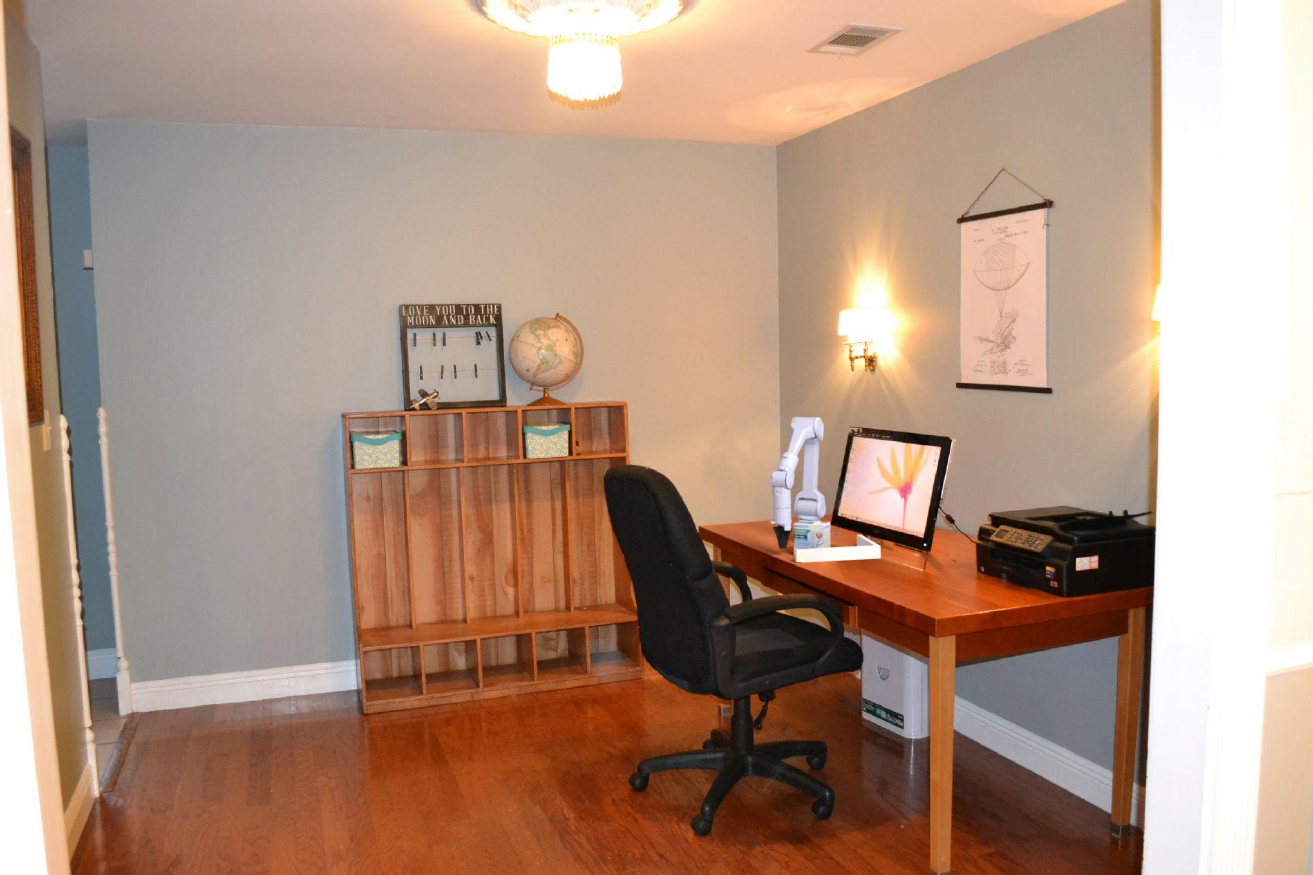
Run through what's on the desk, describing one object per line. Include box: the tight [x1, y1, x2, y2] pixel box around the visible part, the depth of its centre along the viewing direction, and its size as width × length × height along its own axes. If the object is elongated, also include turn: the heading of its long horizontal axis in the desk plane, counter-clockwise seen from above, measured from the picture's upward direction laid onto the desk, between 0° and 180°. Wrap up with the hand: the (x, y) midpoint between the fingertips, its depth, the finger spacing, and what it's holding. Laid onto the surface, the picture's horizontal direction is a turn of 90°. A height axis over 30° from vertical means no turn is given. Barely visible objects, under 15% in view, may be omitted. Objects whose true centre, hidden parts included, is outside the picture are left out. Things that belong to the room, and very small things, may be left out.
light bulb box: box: [793, 520, 831, 556], centre depth 330 cm, size 11×7×11 cm, turn 62°
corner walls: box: [794, 534, 882, 563], centre depth 331 cm, size 20×28×4 cm
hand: (782, 548), depth 331 cm, fingers closed
